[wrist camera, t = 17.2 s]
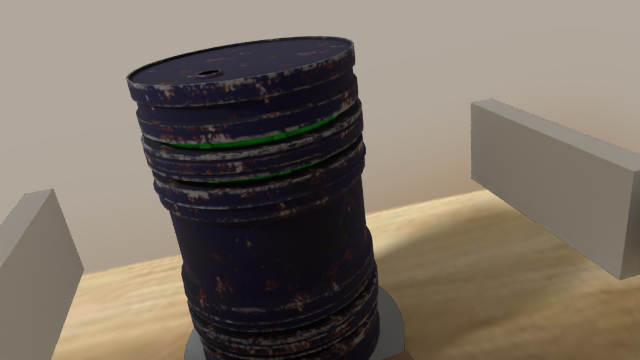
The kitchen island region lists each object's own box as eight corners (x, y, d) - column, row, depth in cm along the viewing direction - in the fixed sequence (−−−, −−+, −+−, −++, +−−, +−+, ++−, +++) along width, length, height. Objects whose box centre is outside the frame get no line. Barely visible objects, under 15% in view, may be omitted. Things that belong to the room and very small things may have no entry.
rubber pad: (200, 480, 21) (195, 464, 20) (181, 314, 31) (177, 302, 31) (449, 383, 24) (448, 367, 23) (354, 261, 34) (353, 249, 34)
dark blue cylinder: (252, 271, 33) (203, 44, 27) (397, 284, 30) (379, 29, 24) (165, 386, 24) (66, 92, 19) (356, 423, 21) (310, 79, 15)
